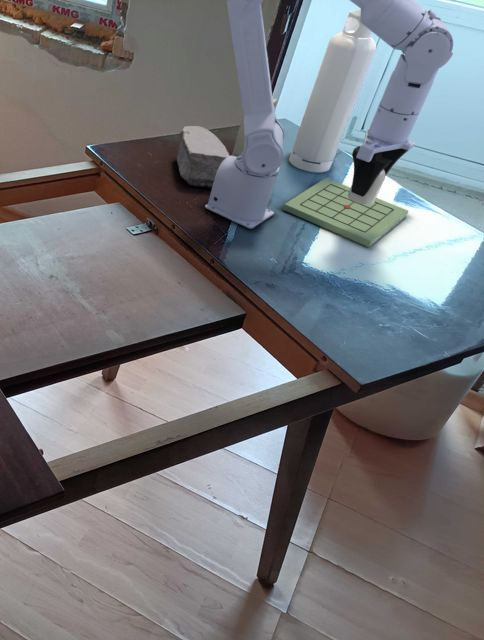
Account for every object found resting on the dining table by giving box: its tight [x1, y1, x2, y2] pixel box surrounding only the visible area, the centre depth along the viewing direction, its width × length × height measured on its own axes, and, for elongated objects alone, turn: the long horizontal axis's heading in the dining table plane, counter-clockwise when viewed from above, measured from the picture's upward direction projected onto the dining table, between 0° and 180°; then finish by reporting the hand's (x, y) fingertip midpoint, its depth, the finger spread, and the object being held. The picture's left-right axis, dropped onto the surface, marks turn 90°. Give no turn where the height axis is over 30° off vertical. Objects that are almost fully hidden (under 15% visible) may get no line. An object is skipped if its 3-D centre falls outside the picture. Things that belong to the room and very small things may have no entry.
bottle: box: [288, 9, 377, 173], centre depth 128 cm, size 8×8×28 cm
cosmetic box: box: [231, 97, 278, 157], centre depth 133 cm, size 6×4×12 cm
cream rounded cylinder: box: [348, 169, 386, 205], centre depth 111 cm, size 4×4×6 cm
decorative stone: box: [176, 125, 231, 189], centre depth 129 cm, size 15×7×10 cm
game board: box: [282, 177, 409, 248], centre depth 122 cm, size 16×16×1 cm
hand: (364, 189), depth 112 cm, fingers closed on cream rounded cylinder, 4 cm apart
